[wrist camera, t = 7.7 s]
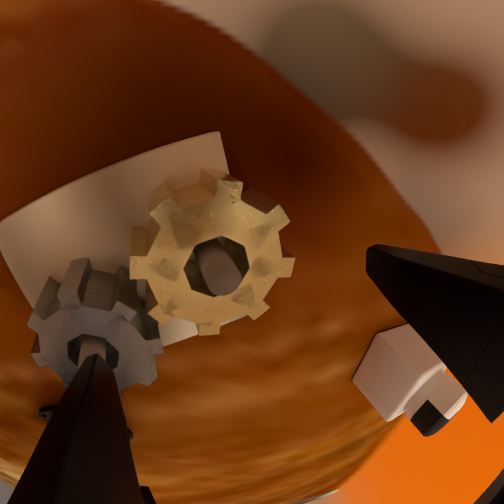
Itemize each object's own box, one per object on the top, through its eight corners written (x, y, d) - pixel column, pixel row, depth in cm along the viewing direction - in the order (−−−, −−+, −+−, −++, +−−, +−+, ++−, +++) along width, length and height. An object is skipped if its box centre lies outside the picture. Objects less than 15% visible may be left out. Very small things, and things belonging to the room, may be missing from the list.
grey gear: (94, 370, 14) (93, 409, 11) (22, 296, 10) (4, 333, 8) (177, 328, 14) (187, 367, 12) (110, 234, 11) (101, 265, 9)
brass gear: (162, 312, 14) (169, 352, 11) (113, 198, 11) (104, 220, 8) (273, 270, 15) (300, 300, 13) (251, 154, 12) (280, 162, 9)
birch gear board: (83, 359, 14) (78, 425, 10) (0, 220, 9) (-50, 266, 5) (253, 298, 17) (292, 355, 13) (213, 131, 12) (253, 132, 8)
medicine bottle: (389, 364, 30) (446, 424, 20) (349, 380, 27) (411, 454, 17) (413, 320, 27) (483, 381, 17) (375, 332, 25) (455, 411, 14)
